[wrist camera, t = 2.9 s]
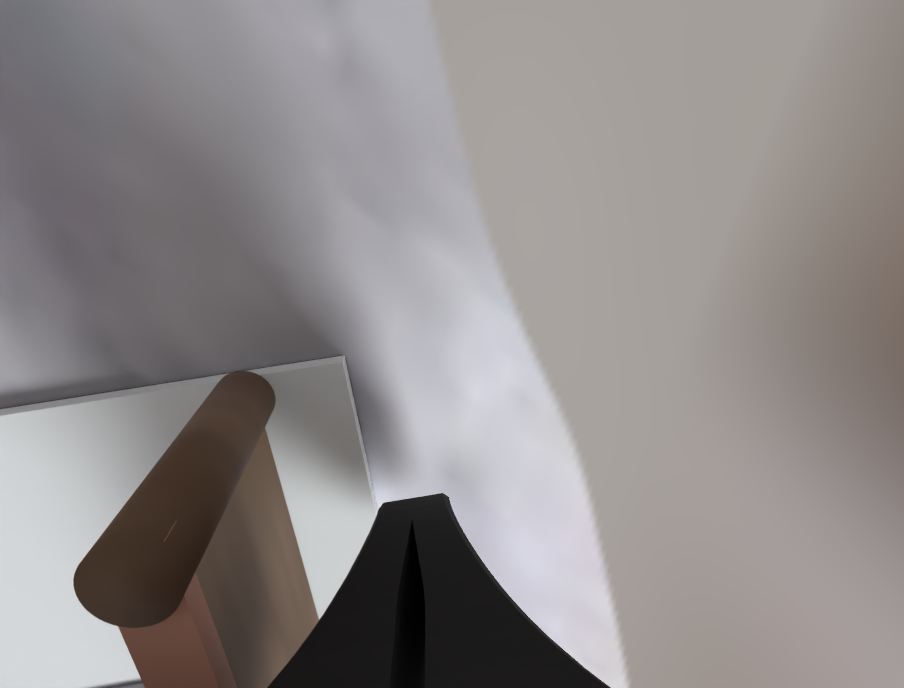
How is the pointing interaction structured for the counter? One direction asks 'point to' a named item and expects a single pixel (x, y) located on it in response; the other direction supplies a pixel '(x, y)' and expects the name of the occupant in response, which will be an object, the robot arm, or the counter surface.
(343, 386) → the card
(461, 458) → the counter surface
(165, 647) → the panel
